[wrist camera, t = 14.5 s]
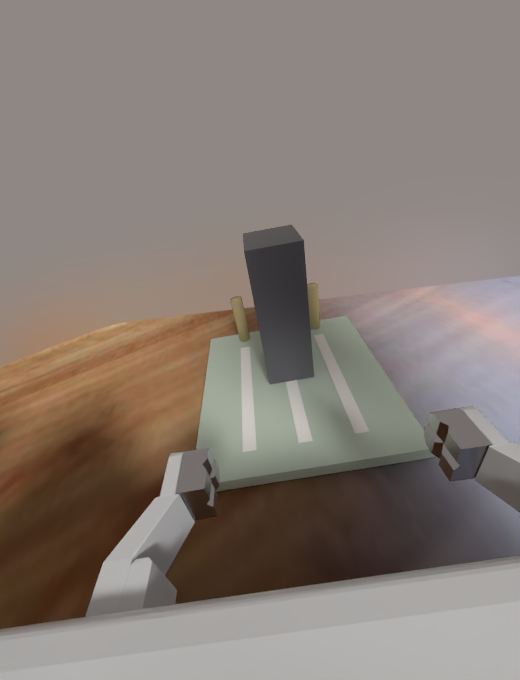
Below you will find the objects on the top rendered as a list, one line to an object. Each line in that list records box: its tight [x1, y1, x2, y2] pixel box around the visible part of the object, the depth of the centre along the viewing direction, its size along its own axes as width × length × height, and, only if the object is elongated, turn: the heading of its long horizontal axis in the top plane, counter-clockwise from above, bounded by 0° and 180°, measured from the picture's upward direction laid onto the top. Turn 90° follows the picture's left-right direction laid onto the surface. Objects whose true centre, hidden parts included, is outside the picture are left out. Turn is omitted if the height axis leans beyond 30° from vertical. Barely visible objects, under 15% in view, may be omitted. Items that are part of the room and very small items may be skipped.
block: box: [243, 225, 314, 384], centre depth 25 cm, size 4×5×12 cm
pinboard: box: [196, 283, 434, 492], centre depth 25 cm, size 16×18×6 cm
